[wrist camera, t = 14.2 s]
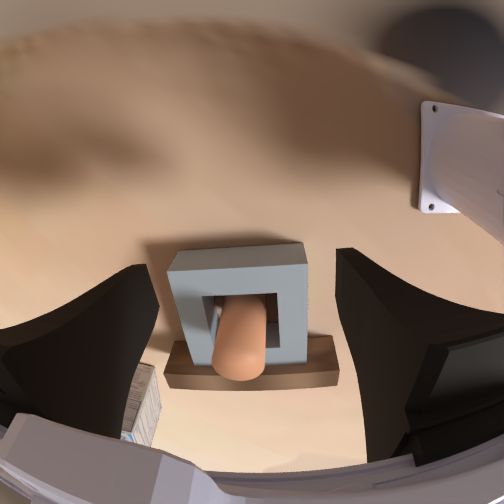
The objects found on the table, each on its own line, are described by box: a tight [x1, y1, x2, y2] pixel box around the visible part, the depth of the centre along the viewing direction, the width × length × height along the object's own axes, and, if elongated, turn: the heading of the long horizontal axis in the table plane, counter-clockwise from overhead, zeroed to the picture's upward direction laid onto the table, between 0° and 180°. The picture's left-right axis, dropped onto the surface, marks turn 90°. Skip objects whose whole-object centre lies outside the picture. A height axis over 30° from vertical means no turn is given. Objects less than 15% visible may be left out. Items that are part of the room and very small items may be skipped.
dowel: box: [211, 293, 267, 381], centre depth 20 cm, size 3×3×7 cm
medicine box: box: [120, 364, 162, 447], centre depth 26 cm, size 8×4×9 cm, turn 173°
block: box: [167, 243, 308, 366], centre depth 22 cm, size 9×9×3 cm
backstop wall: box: [163, 336, 340, 391], centre depth 24 cm, size 14×2×4 cm, turn 96°
